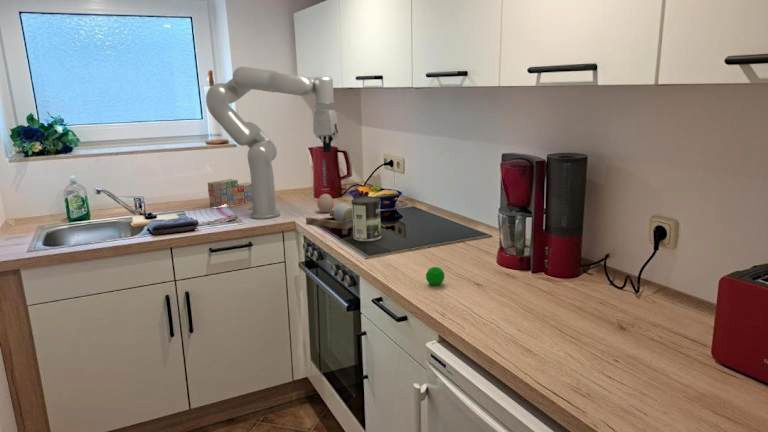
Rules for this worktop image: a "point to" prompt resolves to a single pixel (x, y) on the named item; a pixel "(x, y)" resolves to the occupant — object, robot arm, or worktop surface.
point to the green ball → (435, 276)
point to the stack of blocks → (229, 192)
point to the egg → (325, 203)
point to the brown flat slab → (330, 222)
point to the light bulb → (343, 212)
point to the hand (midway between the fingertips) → (327, 151)
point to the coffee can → (366, 218)
